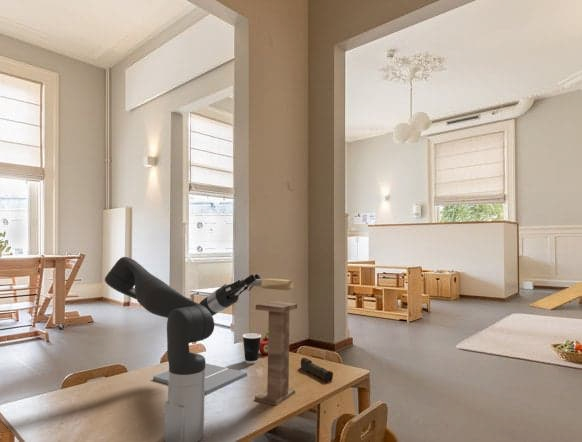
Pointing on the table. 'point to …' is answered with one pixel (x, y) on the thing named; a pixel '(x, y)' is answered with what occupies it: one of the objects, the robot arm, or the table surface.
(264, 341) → the apple
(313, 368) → the hand tool
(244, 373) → the flat grey board
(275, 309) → the walnut stand
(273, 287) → the wood and grey bar
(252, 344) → the dixie cup
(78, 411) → the table surface
